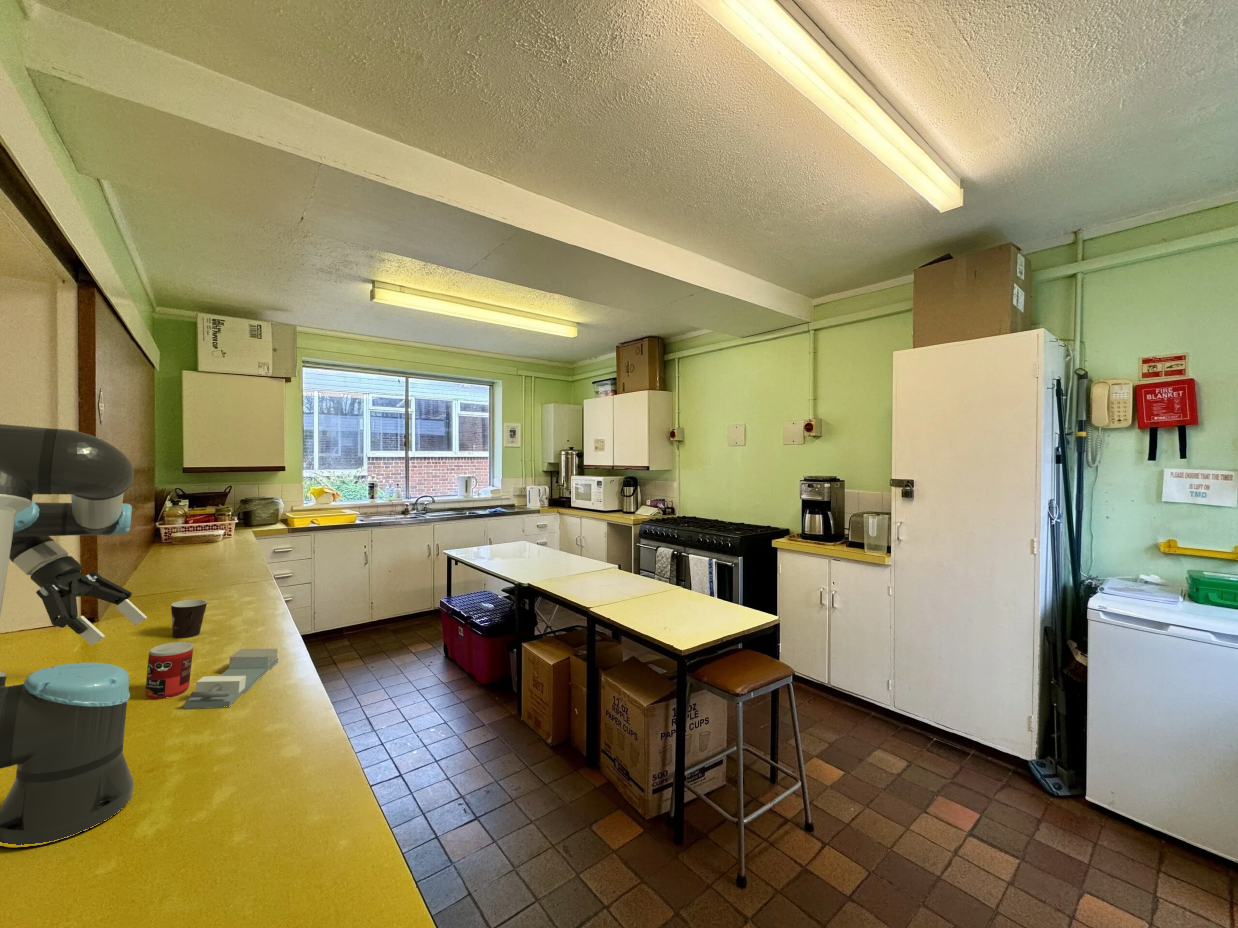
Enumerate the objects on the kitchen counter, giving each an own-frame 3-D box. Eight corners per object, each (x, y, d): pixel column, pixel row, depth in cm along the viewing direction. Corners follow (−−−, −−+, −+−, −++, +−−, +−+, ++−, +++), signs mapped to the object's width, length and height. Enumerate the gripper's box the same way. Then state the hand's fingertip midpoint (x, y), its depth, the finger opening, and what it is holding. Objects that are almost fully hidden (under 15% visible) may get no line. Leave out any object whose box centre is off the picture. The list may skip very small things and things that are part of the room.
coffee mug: (174, 630, 157) (177, 599, 157) (208, 629, 160) (211, 598, 161) (158, 643, 146) (161, 610, 146) (195, 641, 150) (198, 609, 150)
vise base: (228, 707, 115) (230, 688, 115) (183, 708, 113) (185, 689, 113) (277, 663, 140) (279, 647, 140) (241, 663, 138) (243, 647, 138)
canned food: (138, 693, 118) (143, 648, 118) (180, 682, 125) (184, 639, 125) (152, 703, 114) (157, 655, 114) (194, 690, 121) (199, 646, 121)
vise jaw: (267, 667, 133) (268, 656, 133) (228, 668, 131) (229, 656, 131) (276, 659, 139) (277, 648, 139) (240, 659, 137) (241, 648, 137)
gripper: (79, 565, 125) (143, 624, 129) (-22, 590, 101) (60, 662, 104) (106, 545, 126) (169, 604, 130) (13, 566, 102) (93, 638, 106)
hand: (121, 630), depth 117 cm, fingers open, 13 cm apart
